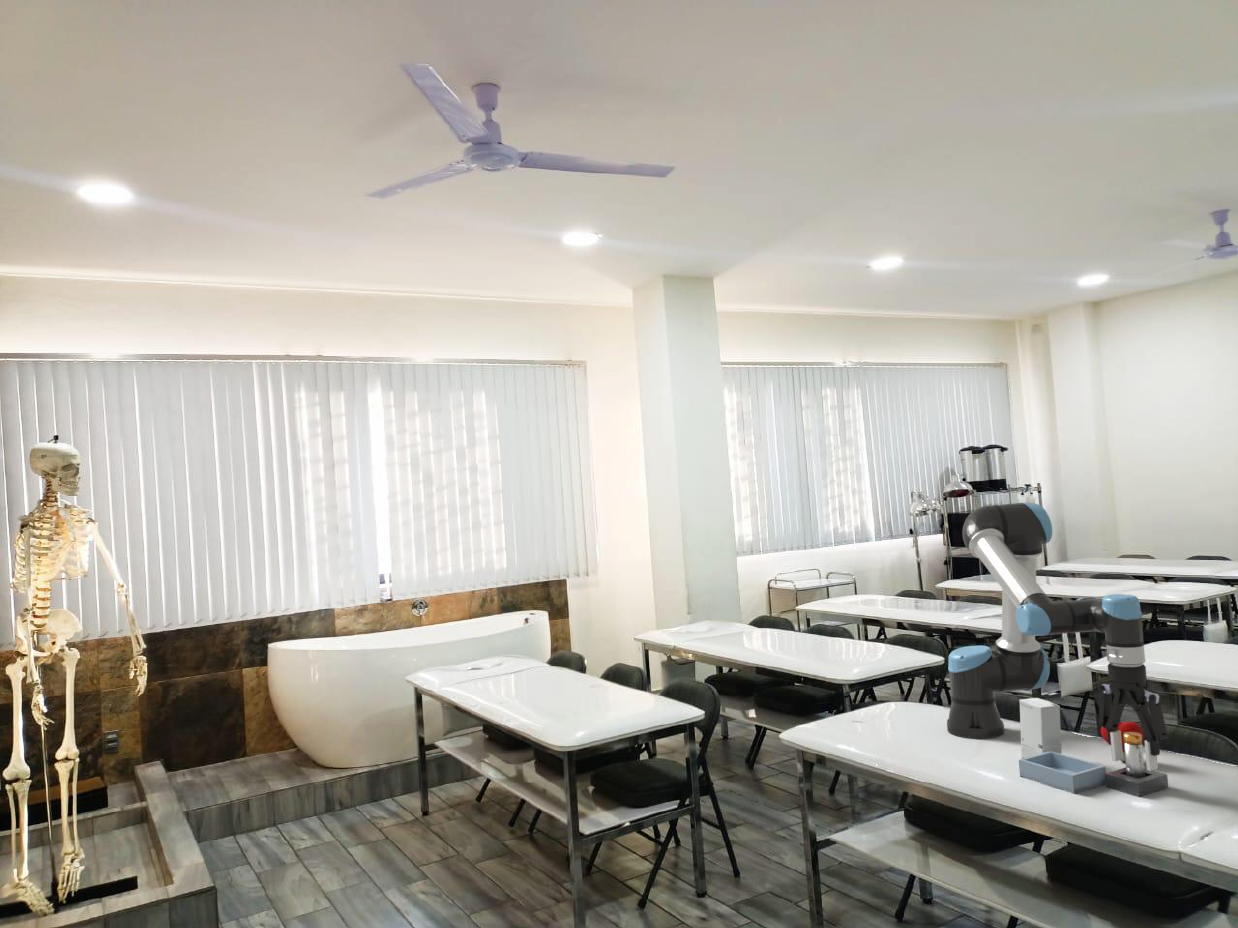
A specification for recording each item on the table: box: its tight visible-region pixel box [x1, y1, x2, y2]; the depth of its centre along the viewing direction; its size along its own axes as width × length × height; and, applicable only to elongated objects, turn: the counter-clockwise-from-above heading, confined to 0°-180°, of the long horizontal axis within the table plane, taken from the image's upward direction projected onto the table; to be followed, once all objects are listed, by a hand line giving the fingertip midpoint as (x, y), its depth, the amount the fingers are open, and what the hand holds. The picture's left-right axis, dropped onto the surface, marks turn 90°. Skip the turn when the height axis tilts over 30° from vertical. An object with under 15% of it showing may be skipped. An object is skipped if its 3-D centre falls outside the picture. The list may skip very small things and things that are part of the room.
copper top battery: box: [1123, 732, 1145, 779], centre depth 199 cm, size 4×4×12 cm
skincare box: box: [1018, 697, 1063, 759], centre depth 221 cm, size 8×6×15 cm
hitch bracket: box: [1105, 767, 1169, 798], centre depth 199 cm, size 8×10×3 cm
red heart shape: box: [1100, 720, 1144, 763], centre depth 216 cm, size 9×7×10 cm
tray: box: [1018, 751, 1107, 795], centre depth 206 cm, size 15×11×4 cm
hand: (1134, 764), depth 199 cm, fingers open, 8 cm apart
